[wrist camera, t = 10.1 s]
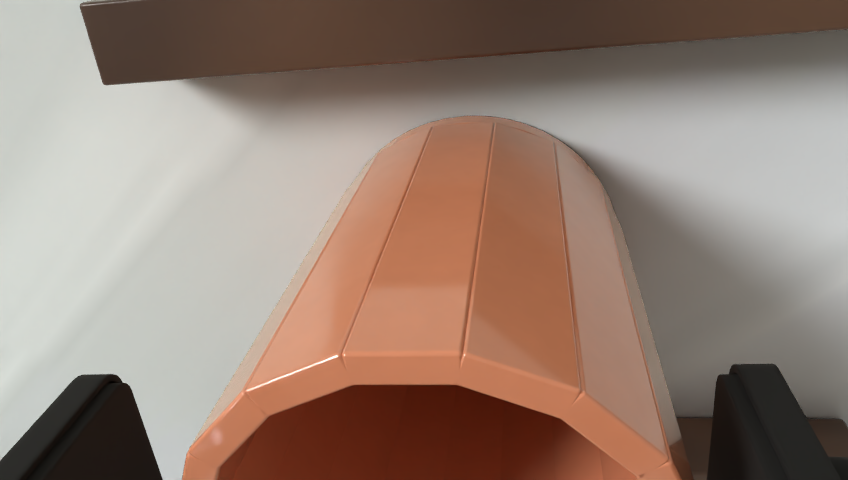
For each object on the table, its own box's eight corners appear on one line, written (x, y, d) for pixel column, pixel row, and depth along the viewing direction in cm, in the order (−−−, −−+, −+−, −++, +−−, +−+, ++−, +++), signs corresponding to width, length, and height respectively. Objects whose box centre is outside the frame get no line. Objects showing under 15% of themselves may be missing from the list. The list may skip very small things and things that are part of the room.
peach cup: (360, 365, 19) (238, 712, 11) (319, 123, 16) (112, 354, 8) (616, 363, 18) (690, 748, 10) (622, 105, 15) (733, 350, 7)
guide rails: (253, 455, 21) (228, 508, 19) (129, -10, 15) (76, 3, 13) (834, 465, 18) (867, 527, 16) (944, -90, 13) (1014, -88, 11)
